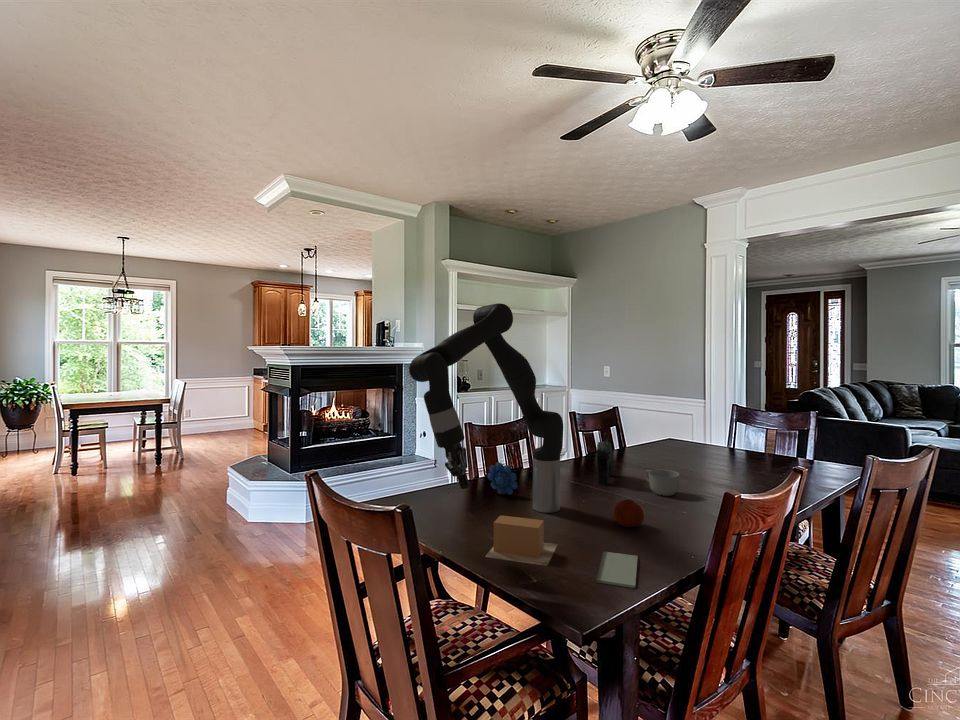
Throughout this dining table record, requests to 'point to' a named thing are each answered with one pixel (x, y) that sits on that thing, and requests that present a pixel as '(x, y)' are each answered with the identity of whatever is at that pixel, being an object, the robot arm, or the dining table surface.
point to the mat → (617, 569)
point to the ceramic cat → (604, 460)
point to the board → (542, 559)
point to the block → (519, 536)
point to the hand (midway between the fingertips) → (465, 487)
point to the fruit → (628, 513)
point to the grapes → (502, 478)
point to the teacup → (663, 481)
